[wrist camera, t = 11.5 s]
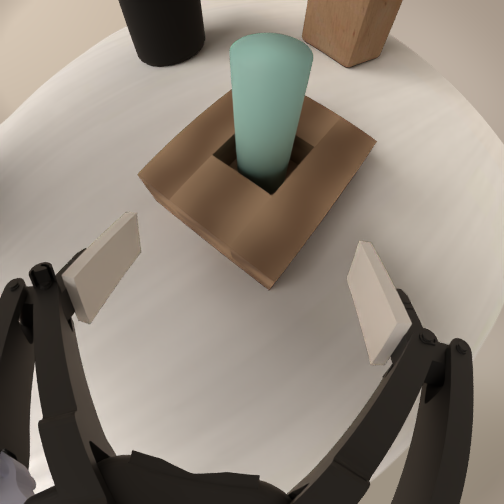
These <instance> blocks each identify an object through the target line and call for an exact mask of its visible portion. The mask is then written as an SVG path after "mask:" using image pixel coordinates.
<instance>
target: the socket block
mask: <svg viewBox="0 0 504 504" xmlns="http://www.w3.org/2000/svg"><path fill="white" fill-rule="evenodd" d="M376 142H377V141H376V140H374V139H373V138H372V137H370V136H369V135H367V134H366V133H365V132H363V131H362V130H360V129H359V128H357V127H356V126H354V125H353V124H351V123H350V122H348V121H347V120H345V119H344V118H342V117H341V116H339V115H337V114H336V113H334V112H333V111H331V110H329V109H328V108H326V107H324V106H323V105H321V104H319V103H317V102H316V101H314V100H312V99H310V98H309V97H307V96H305V97H304V101H303V105H302V110H301V114H300V118H299V122H298V127H297V131H296V135H295V139H294V143H293V147H292V152H291V156H290V160H289V164H288V168H287V172H286V176H285V180H284V183H283V184H282V185H281V186H280V187H279V189H278V190H277V191H276V192H274V193H272V194H269V193H267V192H266V191H265V190H263V189H262V188H260V187H259V186H257V185H256V184H255V183H253V182H252V181H250V180H249V179H247V178H246V177H244V176H243V175H241V174H240V173H238V168H237V154H236V140H235V126H234V112H233V98H232V89H231V90H230V91H229V92H227V93H226V94H225V95H224V96H222V97H221V98H220V99H219V100H217V101H216V102H215V103H214V104H212V105H211V106H210V107H209V108H207V109H206V110H205V111H204V112H203V113H202V114H200V115H199V116H198V117H197V118H196V119H195V120H193V121H192V122H191V123H190V124H189V125H188V126H187V127H185V128H184V129H183V130H182V131H181V132H180V133H179V134H178V135H177V136H176V137H174V138H173V139H172V140H171V141H170V142H169V143H168V144H167V145H166V146H165V147H164V148H163V149H162V150H161V151H160V152H159V153H158V154H157V155H156V156H155V157H154V158H153V159H152V160H151V161H150V162H149V163H148V164H147V165H146V166H145V167H144V168H143V169H142V170H141V171H140V172H139V173H138V174H137V175H138V176H139V178H140V179H141V180H142V182H143V183H144V184H145V186H146V187H147V189H148V190H149V191H150V193H151V194H152V195H153V197H154V198H155V199H156V201H157V202H159V203H160V204H161V205H162V206H164V207H165V208H166V209H167V210H168V211H170V212H171V213H172V214H173V215H175V216H176V217H177V218H178V219H180V220H181V221H182V222H183V223H184V224H186V225H187V226H188V227H189V228H191V229H192V230H193V231H194V232H196V233H197V234H198V235H199V236H201V237H202V238H203V239H204V240H206V241H207V242H208V243H209V244H211V245H212V246H213V247H214V248H216V249H217V250H218V251H220V252H221V253H222V254H223V255H225V256H226V257H227V258H228V259H230V260H231V261H232V262H233V263H235V264H236V265H237V266H239V267H240V268H241V269H242V270H244V271H245V272H246V273H247V274H249V275H250V276H251V277H253V278H254V279H255V280H256V281H258V282H259V283H260V284H262V285H263V286H264V287H266V288H267V289H268V290H270V288H271V287H272V286H273V285H274V283H275V282H276V281H277V279H278V278H279V277H280V275H281V274H282V273H283V272H284V270H285V269H286V268H287V266H288V265H289V264H290V262H291V261H292V260H293V258H294V257H295V256H296V254H297V253H298V252H299V251H300V249H301V248H302V247H303V245H304V244H305V242H306V241H307V240H308V238H309V237H310V236H311V234H312V233H313V232H314V230H315V229H316V228H317V226H318V225H319V224H320V222H321V221H322V219H323V218H324V217H325V215H326V214H327V213H328V211H329V210H330V208H331V207H332V206H333V204H334V203H335V201H336V200H337V199H338V197H339V196H340V194H341V193H342V192H343V190H344V189H345V187H346V186H347V185H348V183H349V182H350V180H351V179H352V177H353V176H354V175H355V173H356V172H357V170H358V169H359V167H360V166H361V164H362V163H363V161H364V160H365V158H366V157H367V156H368V154H369V153H370V151H371V150H372V148H373V147H374V145H375V144H376Z"/></svg>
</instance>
